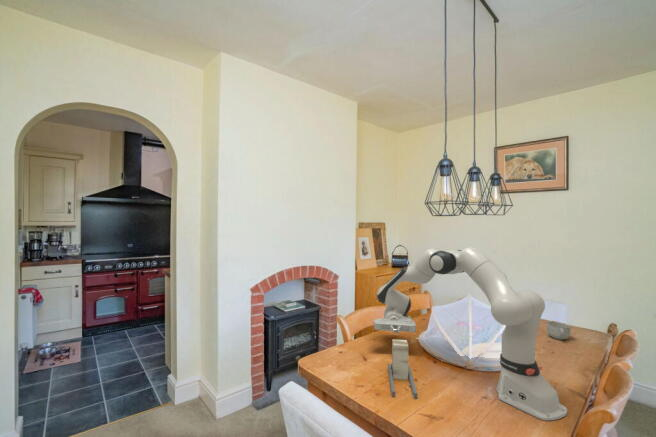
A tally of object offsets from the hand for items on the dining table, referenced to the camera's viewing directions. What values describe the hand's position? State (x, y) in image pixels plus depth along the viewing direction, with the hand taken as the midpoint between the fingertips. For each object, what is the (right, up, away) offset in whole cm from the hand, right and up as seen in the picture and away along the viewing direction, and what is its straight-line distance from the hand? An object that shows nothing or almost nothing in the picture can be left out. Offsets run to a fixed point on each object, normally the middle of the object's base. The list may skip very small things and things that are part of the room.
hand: (396, 331), depth 148 cm
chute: (-2, -14, -21) cm, 25 cm away
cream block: (-2, -13, -16) cm, 21 cm away
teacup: (+97, -14, +28) cm, 102 cm away
